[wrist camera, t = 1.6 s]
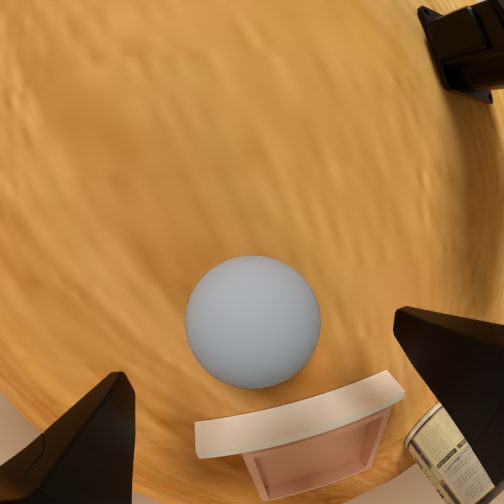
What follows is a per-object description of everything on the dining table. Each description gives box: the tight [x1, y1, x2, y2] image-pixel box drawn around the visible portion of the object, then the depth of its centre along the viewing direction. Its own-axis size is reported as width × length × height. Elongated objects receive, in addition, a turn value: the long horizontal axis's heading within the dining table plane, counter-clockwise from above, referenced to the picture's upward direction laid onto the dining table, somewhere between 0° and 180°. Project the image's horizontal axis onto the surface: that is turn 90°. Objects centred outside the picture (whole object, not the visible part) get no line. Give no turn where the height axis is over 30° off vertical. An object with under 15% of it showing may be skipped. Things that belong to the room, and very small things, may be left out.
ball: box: [185, 256, 321, 389], centre depth 10 cm, size 5×5×5 cm
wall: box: [195, 370, 405, 459], centre depth 14 cm, size 13×1×2 cm, turn 99°
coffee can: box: [404, 402, 504, 504], centre depth 14 cm, size 10×10×14 cm
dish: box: [242, 405, 392, 502], centre depth 16 cm, size 10×10×2 cm
